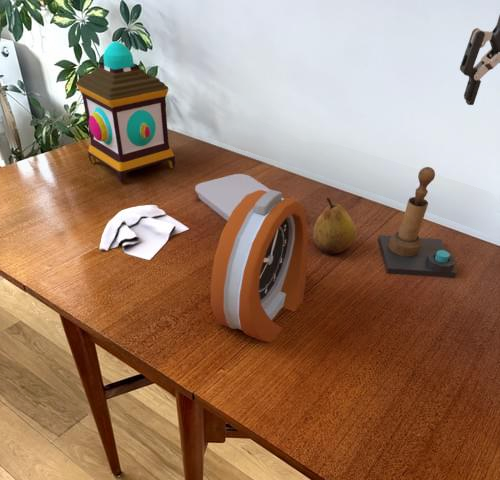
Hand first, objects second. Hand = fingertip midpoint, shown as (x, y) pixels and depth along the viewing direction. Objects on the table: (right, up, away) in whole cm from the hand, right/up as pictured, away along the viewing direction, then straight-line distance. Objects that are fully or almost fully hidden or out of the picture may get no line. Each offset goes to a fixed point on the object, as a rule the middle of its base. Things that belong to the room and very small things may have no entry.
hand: (495, 104), depth 77 cm
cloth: (-66, -16, +27) cm, 73 cm away
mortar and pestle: (-7, -20, +24) cm, 32 cm away
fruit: (-23, -19, +26) cm, 39 cm away
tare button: (-1, -23, +19) cm, 30 cm away
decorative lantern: (-74, +9, +53) cm, 91 cm away
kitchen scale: (-5, -22, +24) cm, 33 cm away
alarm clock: (-38, -34, +9) cm, 52 cm away
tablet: (-42, -7, +38) cm, 57 cm away
